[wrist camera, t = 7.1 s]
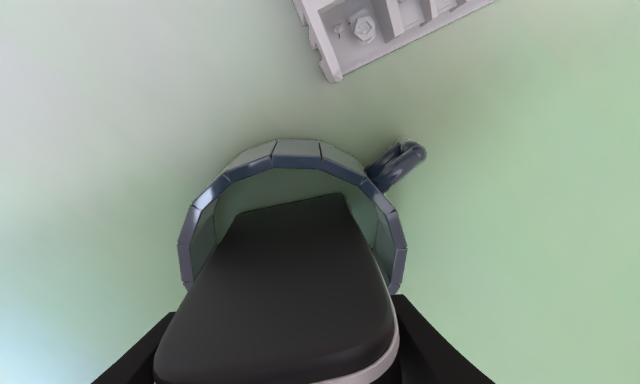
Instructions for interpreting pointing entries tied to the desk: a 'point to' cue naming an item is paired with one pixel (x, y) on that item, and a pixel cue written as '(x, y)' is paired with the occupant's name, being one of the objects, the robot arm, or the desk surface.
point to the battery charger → (286, 305)
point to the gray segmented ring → (308, 154)
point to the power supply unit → (372, 27)
